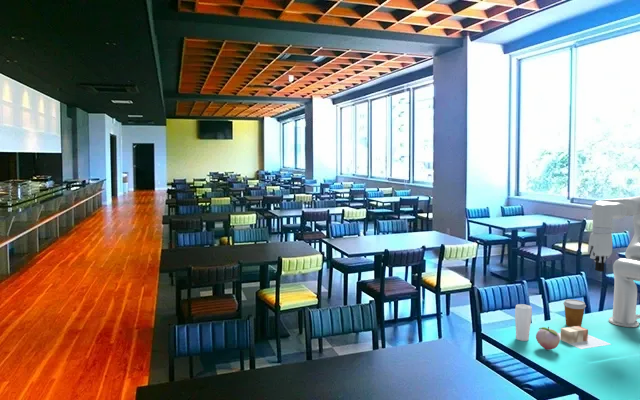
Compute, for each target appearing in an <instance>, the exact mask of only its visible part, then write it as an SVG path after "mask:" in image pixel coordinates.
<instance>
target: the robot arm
mask: <svg viewBox="0 0 640 400" xmlns="http://www.w3.org/2000/svg"><path fill="white" fill-rule="evenodd" d="M590 210H591V211H590V212H591V214H592V230H591V233H590V235H589V238H588V239H589V240H588V243H587V244H588V245H587V254H588V255H589V257H590V259H593V260H594V262H595V268H594V270H595V271H597V272H604V270H605V263H606V261H607V259H609V258H610V257H611V255H612V254H613V235H612V231H613V229H612V227H613V226H612V225H613V220H623V218H625V217H630V216H632V223H633V229H634V234H633V237H632V239H631V240H630V242H629V244H628V246H627V247H626V250H625V258H618V259H616V260H615V261H614V262H613V265H612V270H613V278H614V286H613V288H614V289H613V304H612V316H611V317H609V318H608V322H609V323H610V324H613V325H615V326H619V327H625V328H637V327H639V326H640V323H639V321H637V320H638V319H640V314H639V313H638V314H637V302H638V301H637V299H638V287H637V284H636V282H640V195H637V196H631V197H625V198H623V197H622V198H613V199H601V200H596V201H595V202H594V203H592V206H591V209H590ZM635 281H636V282H635Z"/></svg>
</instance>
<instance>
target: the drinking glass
mask: <svg viewBox="0 0 640 400" xmlns="http://www.w3.org/2000/svg"><path fill="white" fill-rule="evenodd" d="M514 309H515V311H514V318H515V320H514V321H515V339H516V340H518V341H521V342H527V341H529V339H530V331H531V330H530V329H531V324H532V323H531V322H532V317H533V316H532V314H533V307H532V306H531V305H528V304H524V303H523V304H522V303H518V304H516V305H515V308H514Z"/></svg>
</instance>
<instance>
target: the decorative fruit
mask: <svg viewBox="0 0 640 400" xmlns="http://www.w3.org/2000/svg"><path fill="white" fill-rule="evenodd" d="M558 333H559V332H557V331H556V330H554V329H553V328H550V326H547V327H544V326H543V327H539V328H538V331H537V332H536V334H535V338H536V342H537V343H538V344H539V345H540V346H541V347H542V348H543V349H545V350H547V351H550V350H555V349H556V348H557V347H558V346H559V344H560V341H561V340H560V336H559V334H558Z"/></svg>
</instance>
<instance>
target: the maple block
mask: <svg viewBox="0 0 640 400" xmlns="http://www.w3.org/2000/svg"><path fill="white" fill-rule="evenodd" d="M560 333H561V340H560V341H562V340H563V341H562V342H564V341H565V342H564V343H566V342H567V343H566V344H568V343H575V342H582V341H587V340H588V335H589V328H585V327H582V326H581V327H580V326H574V327H569V326H567V327H561V328H560Z"/></svg>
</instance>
